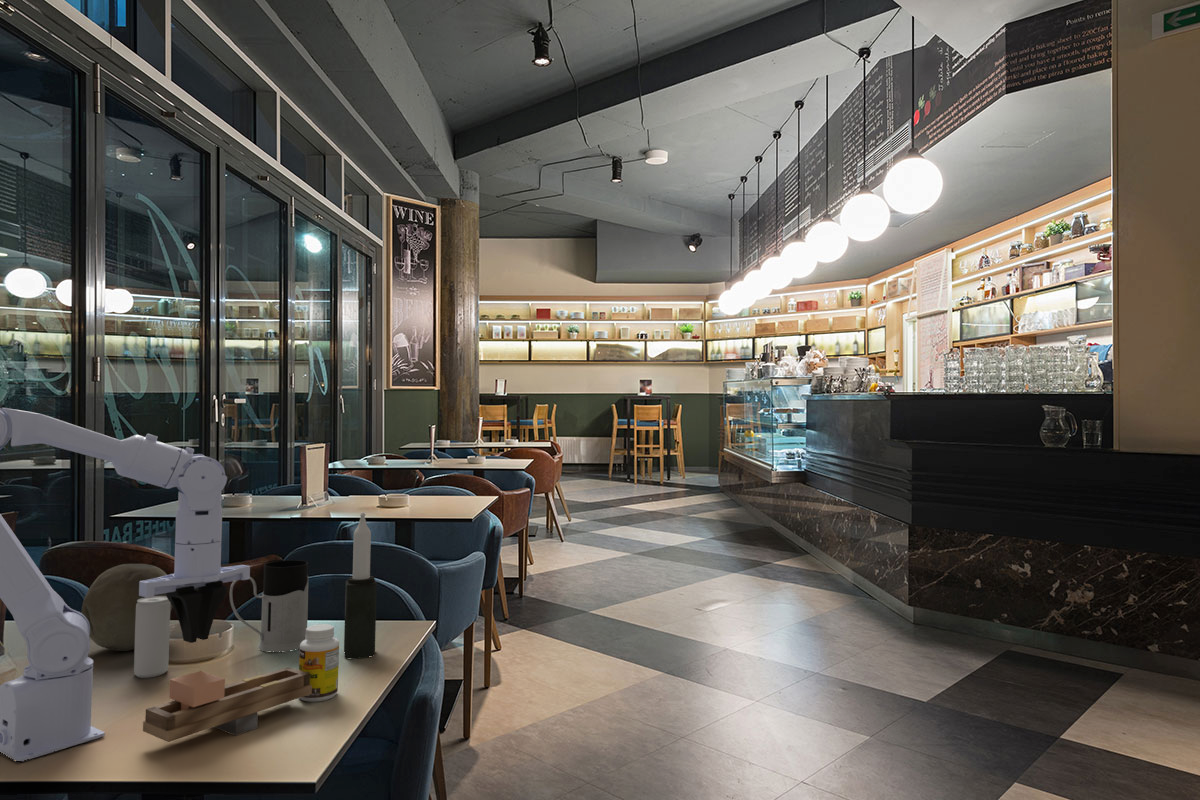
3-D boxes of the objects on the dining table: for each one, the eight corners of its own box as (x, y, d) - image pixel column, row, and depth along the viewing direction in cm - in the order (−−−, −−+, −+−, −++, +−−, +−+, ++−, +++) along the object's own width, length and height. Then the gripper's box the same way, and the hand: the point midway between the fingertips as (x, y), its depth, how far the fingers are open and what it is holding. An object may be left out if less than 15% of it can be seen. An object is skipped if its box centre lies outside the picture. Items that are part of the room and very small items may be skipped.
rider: (192, 721, 92) (194, 687, 92) (168, 711, 95) (169, 679, 95) (223, 711, 95) (224, 678, 96) (199, 702, 98) (200, 670, 99)
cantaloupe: (165, 655, 130) (168, 569, 131) (69, 663, 125) (73, 573, 125) (178, 634, 143) (181, 556, 144) (92, 641, 138) (95, 560, 139)
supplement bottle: (289, 698, 110) (291, 628, 110) (320, 687, 115) (322, 620, 115) (315, 706, 107) (317, 634, 108) (345, 694, 112) (347, 625, 112)
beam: (168, 759, 89) (170, 718, 89) (141, 747, 93) (142, 707, 93) (312, 708, 106) (313, 673, 106) (284, 699, 110) (285, 665, 110)
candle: (375, 656, 131) (378, 513, 132) (344, 659, 129) (348, 514, 130) (373, 648, 135) (376, 510, 136) (343, 651, 133) (347, 511, 134)
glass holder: (317, 645, 137) (320, 563, 137) (237, 662, 126) (240, 573, 127) (296, 636, 143) (299, 557, 143) (218, 651, 132) (221, 567, 133)
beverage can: (151, 679, 117) (154, 603, 118) (125, 677, 118) (128, 601, 119) (175, 670, 122) (177, 596, 123) (149, 668, 123) (152, 595, 124)
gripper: (160, 551, 96) (156, 658, 95) (263, 537, 108) (261, 632, 107) (132, 546, 99) (128, 648, 99) (235, 533, 112) (232, 625, 111)
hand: (195, 639), depth 103 cm, fingers closed
